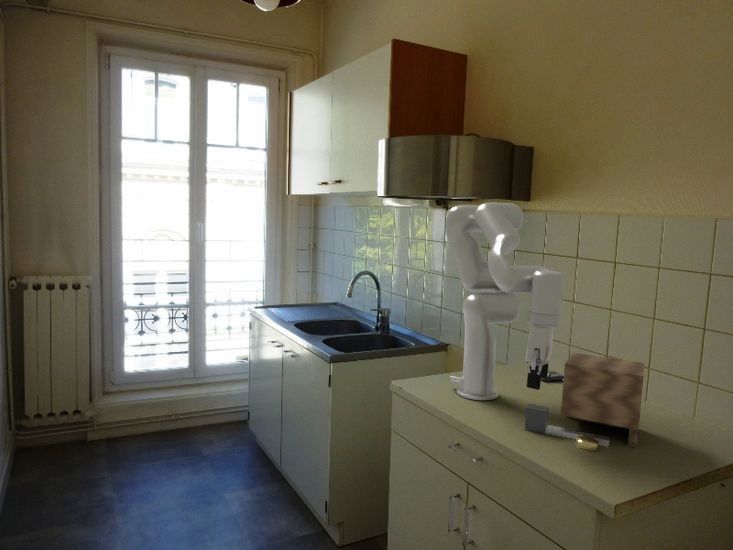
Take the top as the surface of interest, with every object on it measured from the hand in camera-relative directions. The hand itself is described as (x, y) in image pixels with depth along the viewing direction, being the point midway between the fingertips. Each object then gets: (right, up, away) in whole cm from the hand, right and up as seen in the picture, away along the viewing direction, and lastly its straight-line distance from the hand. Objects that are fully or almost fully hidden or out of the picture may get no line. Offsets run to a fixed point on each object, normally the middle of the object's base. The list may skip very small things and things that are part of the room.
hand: (537, 382), depth 141 cm
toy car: (+17, -8, +44) cm, 48 cm away
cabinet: (+17, -13, +2) cm, 21 cm away
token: (+9, -14, -9) cm, 19 cm away
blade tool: (+6, -13, -3) cm, 15 cm away
